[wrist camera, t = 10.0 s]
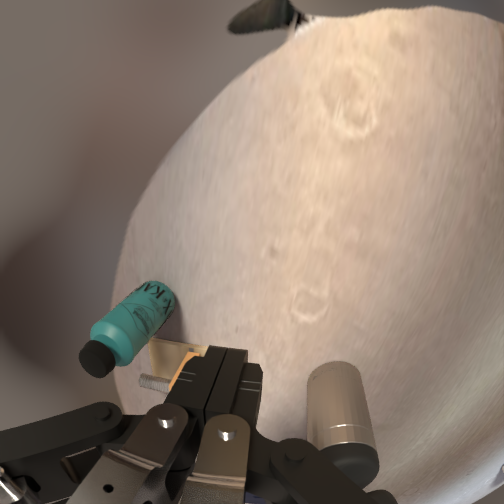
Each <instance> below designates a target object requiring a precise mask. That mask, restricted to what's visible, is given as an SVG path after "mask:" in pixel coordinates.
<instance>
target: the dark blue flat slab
mask: <svg viewBox="0 0 504 504" xmlns="http://www.w3.org/2000/svg"><path fill="white" fill-rule="evenodd" d="M245 503H251V504H266V502H265V500H264V499H263V498H261V497H258V496H256V495H253V494H251V493H248V492H246V497H245Z"/></svg>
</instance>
